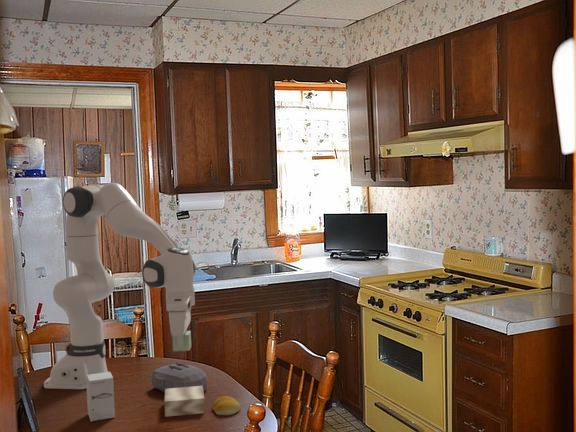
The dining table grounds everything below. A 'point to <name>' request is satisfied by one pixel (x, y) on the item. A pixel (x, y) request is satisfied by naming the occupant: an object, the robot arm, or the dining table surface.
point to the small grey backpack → (178, 377)
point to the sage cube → (186, 342)
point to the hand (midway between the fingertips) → (182, 343)
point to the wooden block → (184, 401)
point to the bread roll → (226, 406)
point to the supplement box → (100, 396)
